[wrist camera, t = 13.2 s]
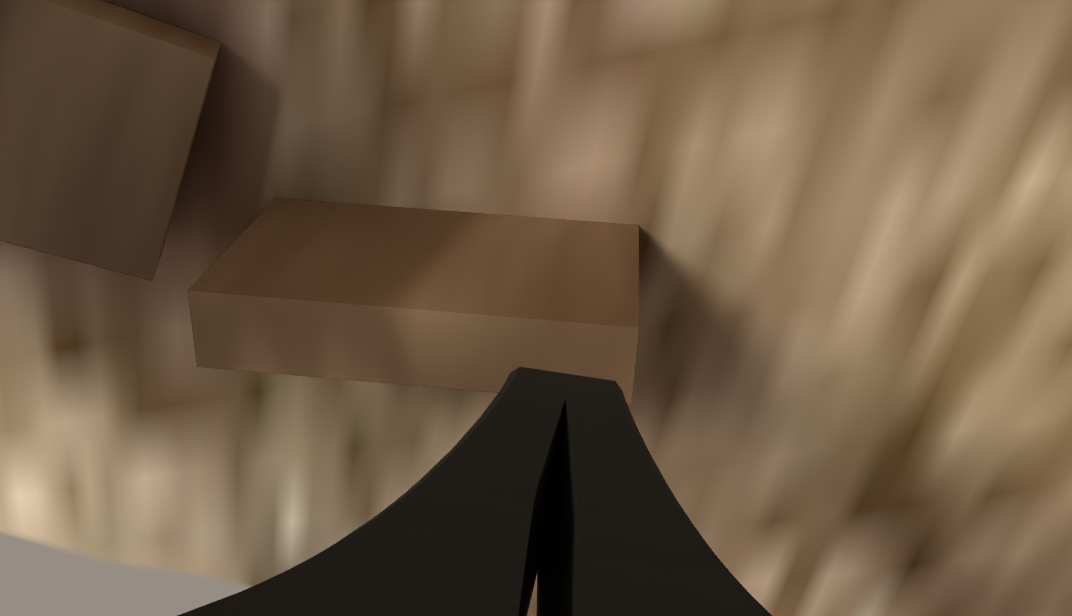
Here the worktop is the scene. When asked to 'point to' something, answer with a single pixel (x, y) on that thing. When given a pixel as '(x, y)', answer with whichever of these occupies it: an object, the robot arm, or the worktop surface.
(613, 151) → the worktop surface
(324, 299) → the domino
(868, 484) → the worktop surface
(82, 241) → the domino
